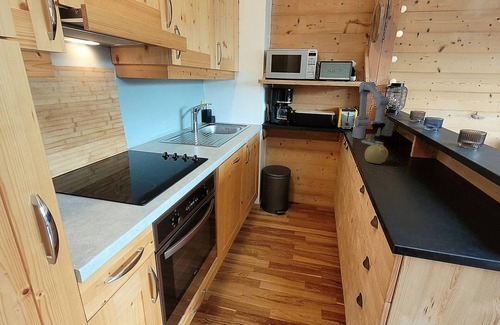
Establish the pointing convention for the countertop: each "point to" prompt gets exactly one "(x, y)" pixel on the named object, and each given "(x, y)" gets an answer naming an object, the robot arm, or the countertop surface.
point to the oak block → (370, 138)
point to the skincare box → (387, 128)
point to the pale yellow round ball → (376, 154)
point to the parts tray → (372, 143)
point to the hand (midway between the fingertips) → (377, 133)
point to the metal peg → (378, 132)
